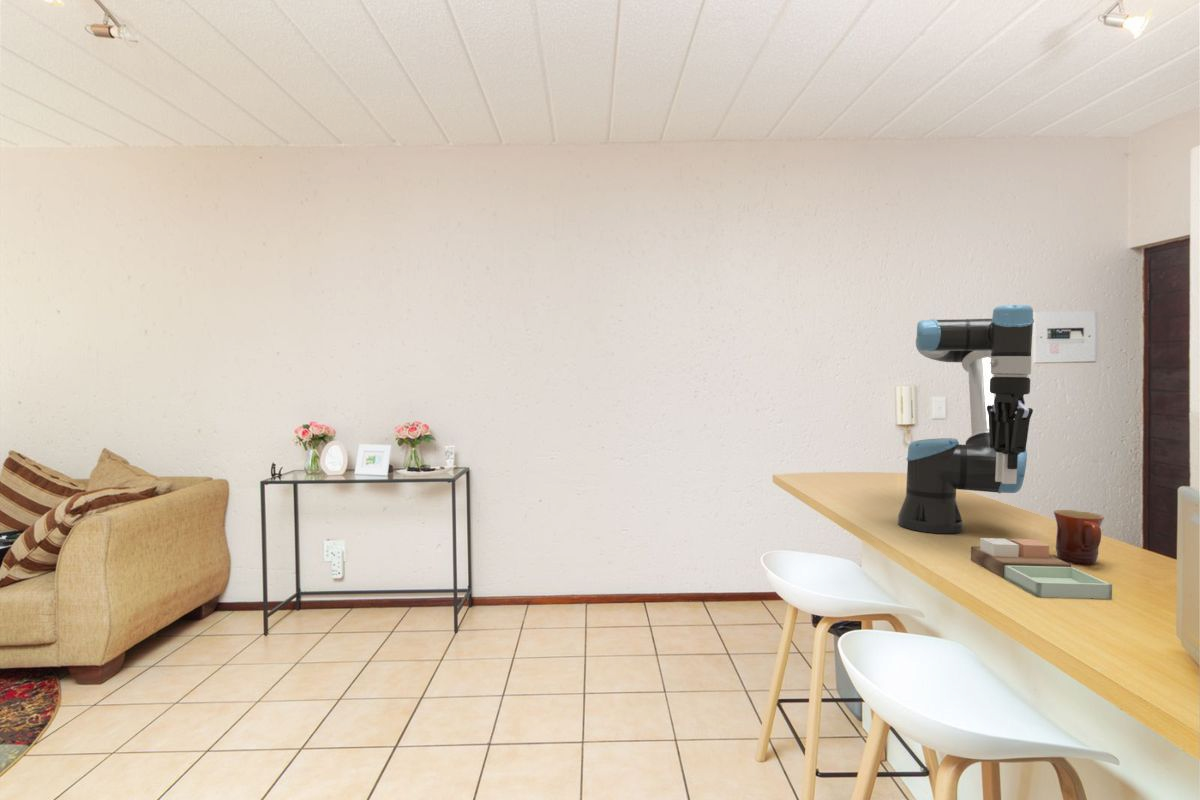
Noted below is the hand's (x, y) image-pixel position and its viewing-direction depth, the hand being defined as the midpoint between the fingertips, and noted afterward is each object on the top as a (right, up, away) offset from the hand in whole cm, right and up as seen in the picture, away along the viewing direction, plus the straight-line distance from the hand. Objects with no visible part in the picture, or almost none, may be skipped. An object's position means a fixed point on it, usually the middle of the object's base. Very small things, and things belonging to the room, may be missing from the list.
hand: (1005, 482), depth 141 cm
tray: (-4, -17, -21) cm, 27 cm away
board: (-3, -17, -9) cm, 19 cm away
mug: (+14, -17, -4) cm, 22 cm away
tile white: (-7, -14, -8) cm, 17 cm away
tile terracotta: (-1, -14, -8) cm, 16 cm away
